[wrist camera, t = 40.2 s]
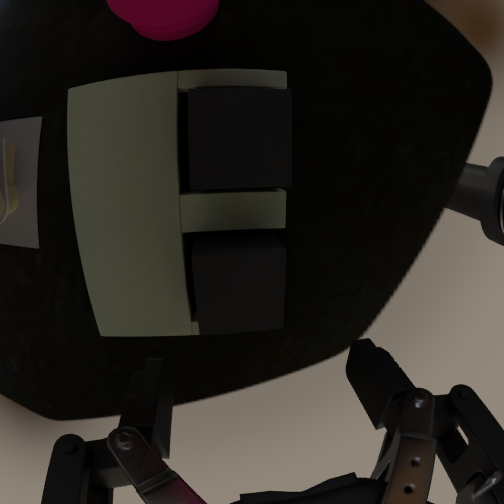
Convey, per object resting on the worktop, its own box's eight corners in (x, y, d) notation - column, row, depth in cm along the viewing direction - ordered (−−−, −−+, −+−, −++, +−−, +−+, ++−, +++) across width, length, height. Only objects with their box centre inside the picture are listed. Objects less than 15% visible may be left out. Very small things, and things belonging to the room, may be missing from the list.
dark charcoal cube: (275, 100, 17) (292, 89, 13) (275, 179, 19) (292, 186, 15) (192, 101, 16) (187, 88, 13) (193, 182, 18) (190, 190, 15)
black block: (272, 230, 20) (287, 250, 17) (270, 299, 22) (283, 328, 18) (194, 235, 20) (191, 256, 16) (200, 304, 21) (199, 335, 18)
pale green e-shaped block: (280, 76, 17) (286, 71, 15) (276, 318, 23) (280, 328, 21) (76, 92, 15) (67, 88, 13) (105, 325, 21) (100, 336, 20)
